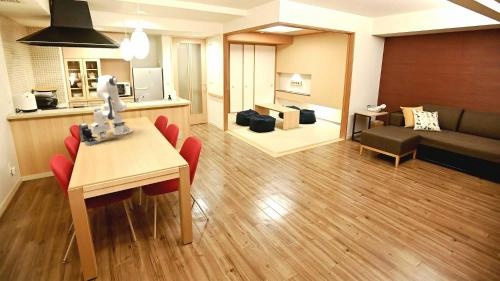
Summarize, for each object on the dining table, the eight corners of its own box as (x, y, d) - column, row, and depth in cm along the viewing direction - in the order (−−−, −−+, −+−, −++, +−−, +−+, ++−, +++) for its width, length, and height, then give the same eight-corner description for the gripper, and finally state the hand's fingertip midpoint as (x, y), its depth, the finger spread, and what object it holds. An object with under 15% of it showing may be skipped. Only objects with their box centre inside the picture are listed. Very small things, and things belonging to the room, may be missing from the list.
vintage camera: (92, 142, 295) (90, 125, 289) (80, 141, 298) (78, 124, 292) (99, 140, 304) (96, 123, 298) (87, 139, 307) (84, 122, 301)
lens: (103, 137, 302) (102, 130, 300) (106, 138, 300) (105, 131, 297) (99, 138, 298) (98, 131, 296) (102, 139, 296) (100, 132, 293)
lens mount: (93, 142, 295) (92, 138, 294) (98, 143, 291) (97, 140, 290) (85, 144, 288) (84, 141, 287) (90, 145, 284) (89, 142, 282)
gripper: (107, 121, 303) (109, 132, 308) (89, 125, 287) (91, 137, 291) (110, 122, 300) (112, 133, 305) (92, 126, 284) (95, 138, 288)
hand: (102, 135), depth 298 cm, fingers closed on lens, 5 cm apart
